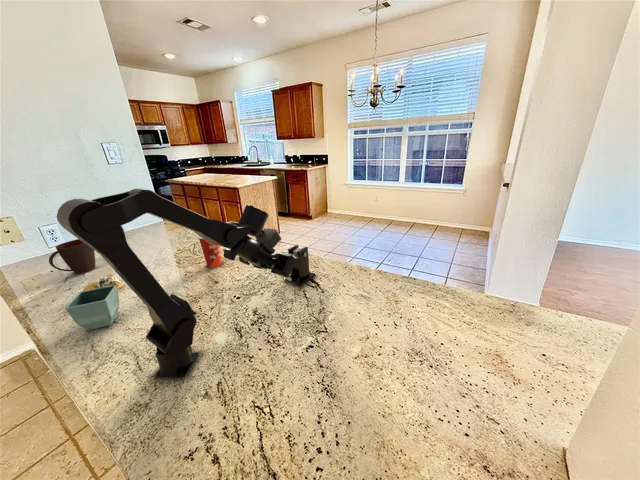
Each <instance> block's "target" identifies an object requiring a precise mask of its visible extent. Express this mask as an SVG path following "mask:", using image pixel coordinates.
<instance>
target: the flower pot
mask: <svg viewBox="0 0 640 480" xmlns="http://www.w3.org/2000/svg"><path fill="white" fill-rule="evenodd" d="M64 309H65V311H66V312H67V313H68V315H69V316H70V318H71V319H72V320H73V321H74V323H75V324H77V325H78V326H79V327H81V328H83V329H85V330H89V331H91V330H96V329H100V328H104V327H109V326H111V325H113V323H114V321H115V319H116V317H117V316H118V313H119V309H120V297H119V292H118V290H117V287H116V285H113V286H108V287H103V288H98V289H93V290H88V291H83V290H82V291H80V292H79V293H77V295H76V296H74V297H73V299H72V300H71V301H70V302H69V303H68V304H67V306H65V308H64Z"/></svg>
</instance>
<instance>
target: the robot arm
mask: <svg viewBox="0 0 640 480" xmlns="http://www.w3.org/2000/svg"><path fill="white" fill-rule="evenodd" d="M146 214H148V215H151V216H154V217H156V218H158V219H161V220H164V221H167V222H169V223H171V224H173V225H176V226H179V227H182V228H185V229H187V230H189V231H192V232H194V233H195V234H197V236H198V235H199V236H200V237H202V238H203V239H205V240H206V241H208V242H210V243H212V244H215V245H219V246H220V247H222V248H223V249H222V250H223V258H224V259H226V260H230V261H235V259H236V258H237V257H238V260H239V263H241V264H243V265H247V266H250V265H252V266H253V268H255V269H259V270H271V271H270V273H271V274H275V275H277V276H280V277H283V278H287V277H289V276H290V275H291V274H290V273H291V271H292V268H293V266H294V263H295V261H296V257H295V256H293V255H292V254H288V252H280V253H278V252H277V253H275V252H276V249H275V247H276V246H277V244H278V243H279V242H281V241H282V236H281V235H280V233H279V231H278V229H275V228H270V227H267V228H264V227H265V225H266V223H267V221H268V219H269V216H270V215H269V213H267V212H266V211H264V210H262V209H260V208H258V207H255V206H253V205H252V204H246V205H245V206H244V209H243V212H242V214H241V216H240V218H239V220H238V222H236V221H222V220H218V219H213V218H210V217H207V216H204V215H202V214H200V213H198V212H196V211H194V210H191V209H189V208H187V207H185V206H182V205H180V204H178V203H176V202H174V201H172V200H169V199H168V198H165V197H163V196H161V195H159V194H157V193H156V192H155V191H153V190H150V189H145V188H133V189H131V190H128V191H124V192H120V193H116V194H111V195H106V196H102V197H97V198H94V199H93V198H92V199H87V198H86V199H85V198H73V199H70V200H66V201H65V202H64V203H62V204H61V205H60V206H59V208H58V209H57V213H56V220H57V222H58V224H59V225H60V226H61V227H62V228H63V229H64V230H66V231H67V232H68V233H70V234H71V235H72V236H73V237H75V238H76V239H79V240H81V241H82V242H83V243H85V244H86V245H88V246H89V247H90V248H92V249H93V250H94V252H96V253H97V254H99V255H100V256H101V257H102V258H103V259H104V261H105V262H106V263H107V265H110V266H111V267H112V268H113V269H114V270H115V273H116V274H117V276H119V277H120V278H121V279H122V280H123V282H124V283H125V284H126V285H127V286H128V287H129V288H130V289H131V291H132V292H133V293H134V294H135V295H136V296H137V297H138V298H139V299H140V300H141V302H142V303H143V304H144V305H145V306H146V307H147V311H148V315H149V318H150V319H151V320H152V322H153V323H152V325H151V327H150V329H149V330H148V332H147V334H146V336H145V339H146V340H147V341H148V342H149V343H151V344H153V345H154V346H155V347H156V348H155V349H156V352H155V354H154V355H155V357H156V360H157V363H158V366H159V369H158V370H157V371H156V372H155V377H158V378H184V377H186V375H188V372H189V371H190V370H191V368H192V367H193V365H194V364H195V362H196V360H197V359H198V358H199V355H200V353H199V352H196V351H193V349H192V345H193V343H194V342H193V340H194V333H195V328H196V324H197V323H198V319H197V317H196V316H195V315H197V314H198V313H197V312H196V311H195V310H193V309H192V308H191V305H190V304H189V302H188V301H187V300H186V299H184V298H183V297H180V296H179V295H176V294H175V293H171V294H170V295H169V294H168V293H167V291H166V290H165V289H164V287H162V285H161V284H160V283H159V282H158V280H157V279H156V278H155V277H154V275H153V274H152V273H151V272H150V270H149V269H148V268H147V267H146V265H145V264H144V263H143V262H142V260H141V259H140V258H139V257H138V255H137V254H136V252H134V250H133V249H132V247H130V245H129V244H128V240H127V237H126V233H125V229H124V228H123V225H126V224H129V223H131V222H132V221H134V220H137V219H138V218H140V217H142V216H143V215H146ZM253 237H255V238H253ZM272 267H273V269H272Z"/></svg>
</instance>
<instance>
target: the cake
mask: <svg viewBox="0 0 640 480" xmlns="http://www.w3.org/2000/svg"><path fill="white" fill-rule="evenodd" d="M149 266H150V265H149V264H148V267H149ZM112 273H116V271H115V270H114V269H113V268H112V267H111V266H110V265H109V264H107V265H103V266H101V267H99V268H95V269H93V270H91V271H89V272H86V273H84V275H85V278H86V281H87V285H85V286H83V289H82V292H83V291H88V290H93V289H98V288H103V287H108V286H113V285H116V287H117V291H118V290H120V289H121V288H122V287H124V283H123V282H122V281H120V280H119V279H117V278H115V277H114V275H113V274H112Z"/></svg>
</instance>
